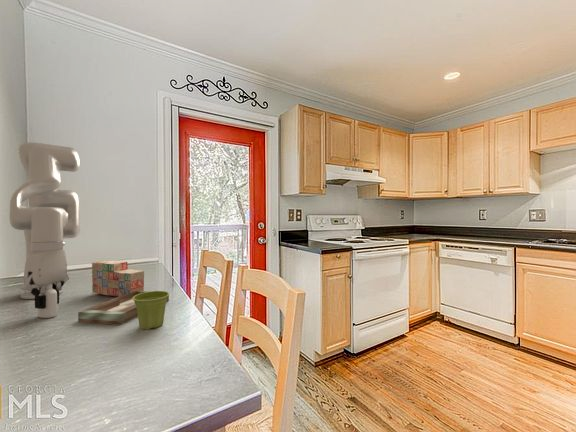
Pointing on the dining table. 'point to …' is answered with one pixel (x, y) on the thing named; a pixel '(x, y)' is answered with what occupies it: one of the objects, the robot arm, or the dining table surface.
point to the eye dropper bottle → (49, 303)
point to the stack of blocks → (115, 278)
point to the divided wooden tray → (112, 310)
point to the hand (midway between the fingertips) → (47, 305)
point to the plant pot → (151, 308)
